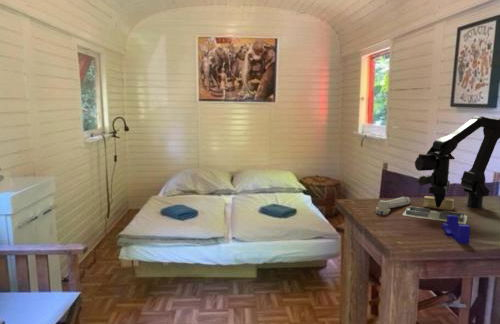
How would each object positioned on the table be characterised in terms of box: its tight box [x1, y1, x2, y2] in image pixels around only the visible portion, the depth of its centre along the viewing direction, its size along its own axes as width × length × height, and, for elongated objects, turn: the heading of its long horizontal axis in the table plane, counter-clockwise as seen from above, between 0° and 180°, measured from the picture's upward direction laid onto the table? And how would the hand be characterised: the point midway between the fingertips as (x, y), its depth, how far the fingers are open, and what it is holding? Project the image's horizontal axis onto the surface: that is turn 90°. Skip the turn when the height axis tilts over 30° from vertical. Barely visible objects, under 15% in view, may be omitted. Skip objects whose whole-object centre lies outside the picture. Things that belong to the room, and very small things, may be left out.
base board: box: [402, 207, 468, 225], centre depth 148 cm, size 12×22×1 cm, turn 58°
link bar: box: [422, 195, 455, 211], centre depth 159 cm, size 3×11×5 cm, turn 57°
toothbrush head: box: [375, 196, 412, 216], centre depth 159 cm, size 5×7×25 cm
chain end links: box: [405, 205, 465, 222], centre depth 148 cm, size 7×20×2 cm, turn 58°
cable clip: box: [441, 215, 471, 245], centre depth 127 cm, size 12×4×6 cm, turn 170°
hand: (438, 206), depth 159 cm, fingers closed on link bar, 3 cm apart
